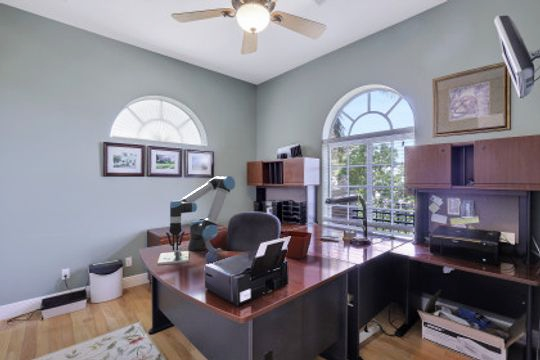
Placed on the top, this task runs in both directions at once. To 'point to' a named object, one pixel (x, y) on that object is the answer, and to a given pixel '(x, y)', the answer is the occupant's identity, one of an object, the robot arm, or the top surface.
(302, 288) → the top surface
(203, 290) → the top surface
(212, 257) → the seal
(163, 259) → the dial board
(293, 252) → the plant pot
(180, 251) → the ball-tipped lever
